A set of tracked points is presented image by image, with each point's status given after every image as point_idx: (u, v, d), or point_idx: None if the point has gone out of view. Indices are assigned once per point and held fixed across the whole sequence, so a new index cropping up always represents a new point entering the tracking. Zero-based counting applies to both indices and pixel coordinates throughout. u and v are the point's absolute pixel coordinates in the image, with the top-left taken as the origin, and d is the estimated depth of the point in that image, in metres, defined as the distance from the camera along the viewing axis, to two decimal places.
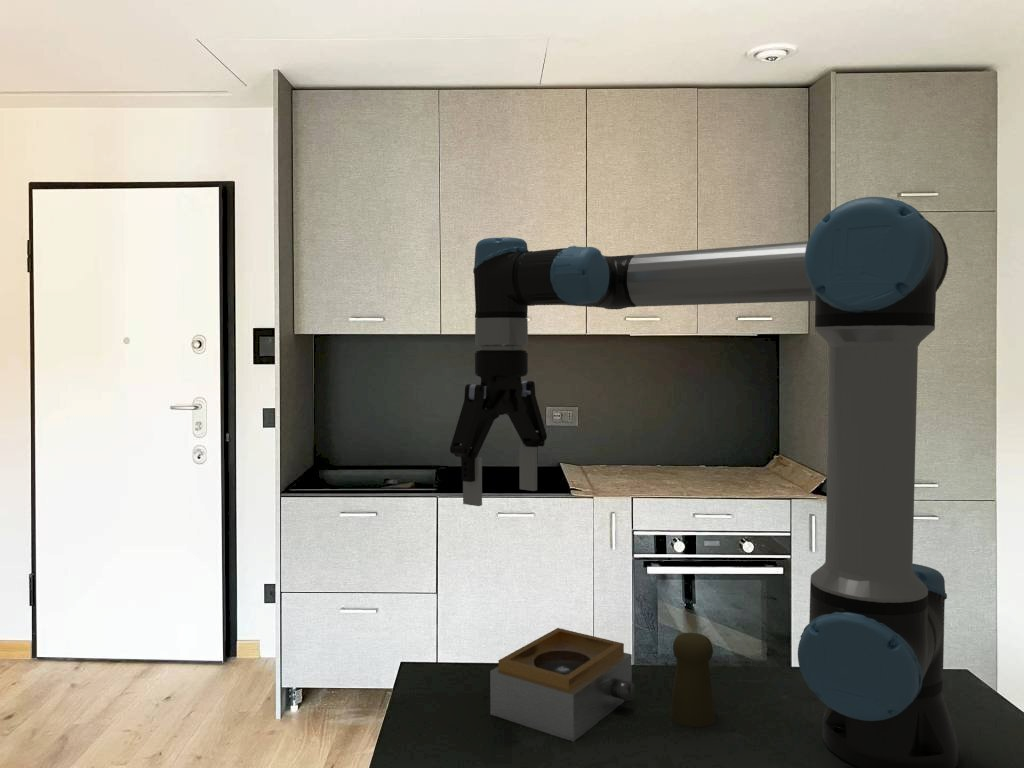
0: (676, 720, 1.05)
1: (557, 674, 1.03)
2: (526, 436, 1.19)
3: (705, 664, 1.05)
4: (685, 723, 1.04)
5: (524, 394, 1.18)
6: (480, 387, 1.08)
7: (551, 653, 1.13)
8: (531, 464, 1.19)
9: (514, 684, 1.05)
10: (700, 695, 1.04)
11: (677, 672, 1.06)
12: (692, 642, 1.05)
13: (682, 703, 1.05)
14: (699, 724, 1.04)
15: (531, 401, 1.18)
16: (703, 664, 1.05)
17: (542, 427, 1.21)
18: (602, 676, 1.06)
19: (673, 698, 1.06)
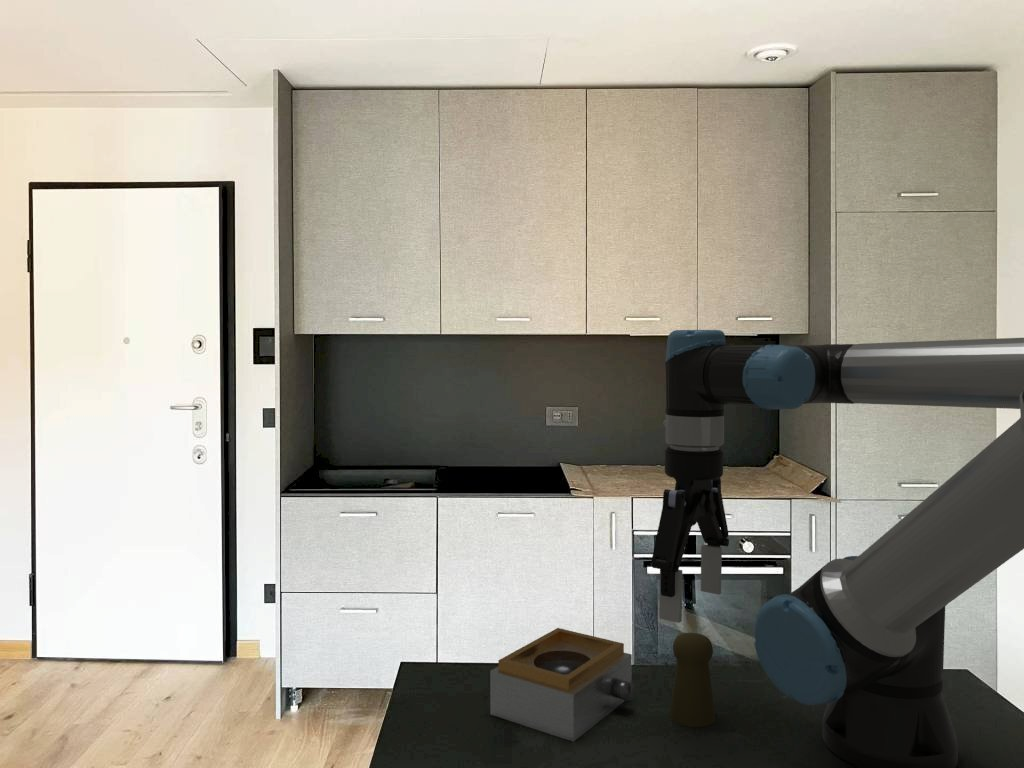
0: (676, 720, 1.05)
1: (557, 674, 1.03)
2: (710, 536, 1.11)
3: (705, 664, 1.05)
4: (685, 723, 1.04)
5: None
6: (682, 494, 1.00)
7: (551, 653, 1.13)
8: (715, 566, 1.11)
9: (514, 684, 1.05)
10: (700, 695, 1.04)
11: (677, 672, 1.06)
12: (692, 642, 1.05)
13: (682, 703, 1.05)
14: (699, 724, 1.04)
15: (717, 499, 1.10)
16: (703, 664, 1.05)
17: (725, 524, 1.13)
18: (602, 676, 1.06)
19: (673, 698, 1.06)
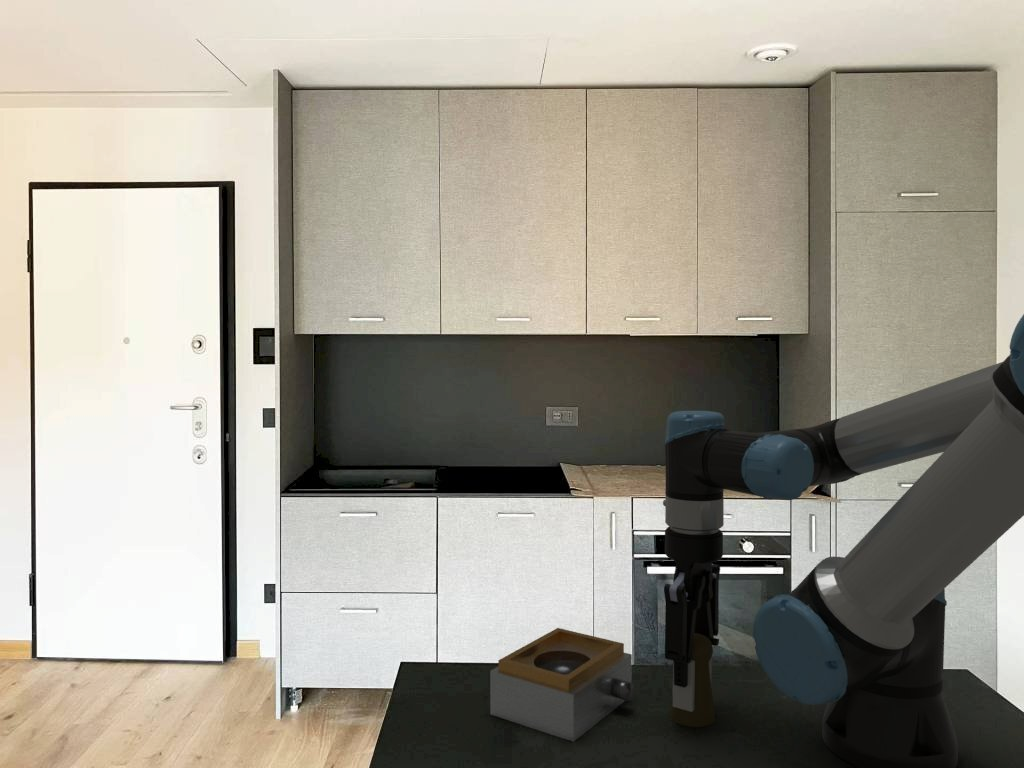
0: (676, 720, 1.05)
1: (557, 674, 1.03)
2: (701, 629, 1.09)
3: (704, 664, 1.05)
4: (685, 723, 1.04)
5: None
6: (682, 591, 1.00)
7: (551, 653, 1.13)
8: None
9: (514, 684, 1.05)
10: (700, 695, 1.04)
11: None
12: None
13: None
14: (699, 724, 1.04)
15: (714, 586, 1.10)
16: (703, 664, 1.05)
17: (717, 620, 1.10)
18: (602, 676, 1.06)
19: None
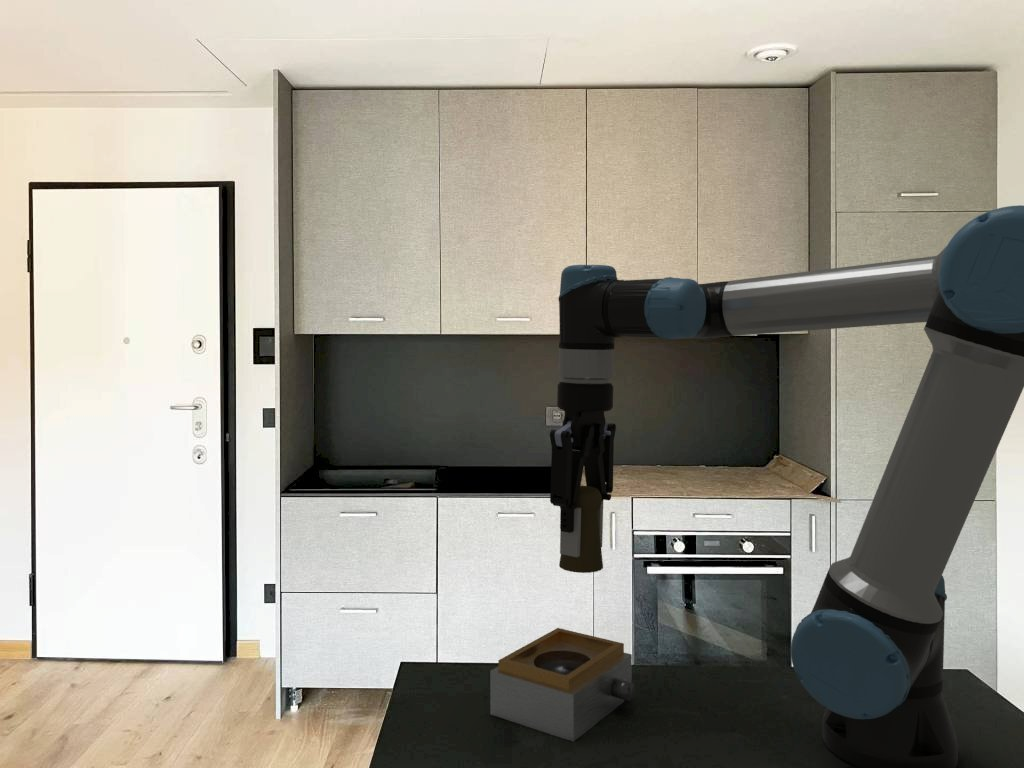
0: (563, 567, 1.08)
1: (557, 674, 1.03)
2: (594, 484, 1.11)
3: (592, 513, 1.07)
4: (571, 569, 1.07)
5: (603, 433, 1.12)
6: (566, 435, 1.02)
7: (551, 653, 1.13)
8: None
9: (514, 684, 1.05)
10: (586, 542, 1.07)
11: None
12: (580, 490, 1.07)
13: None
14: (584, 570, 1.07)
15: (608, 443, 1.12)
16: (591, 513, 1.07)
17: (611, 477, 1.13)
18: (602, 676, 1.06)
19: None
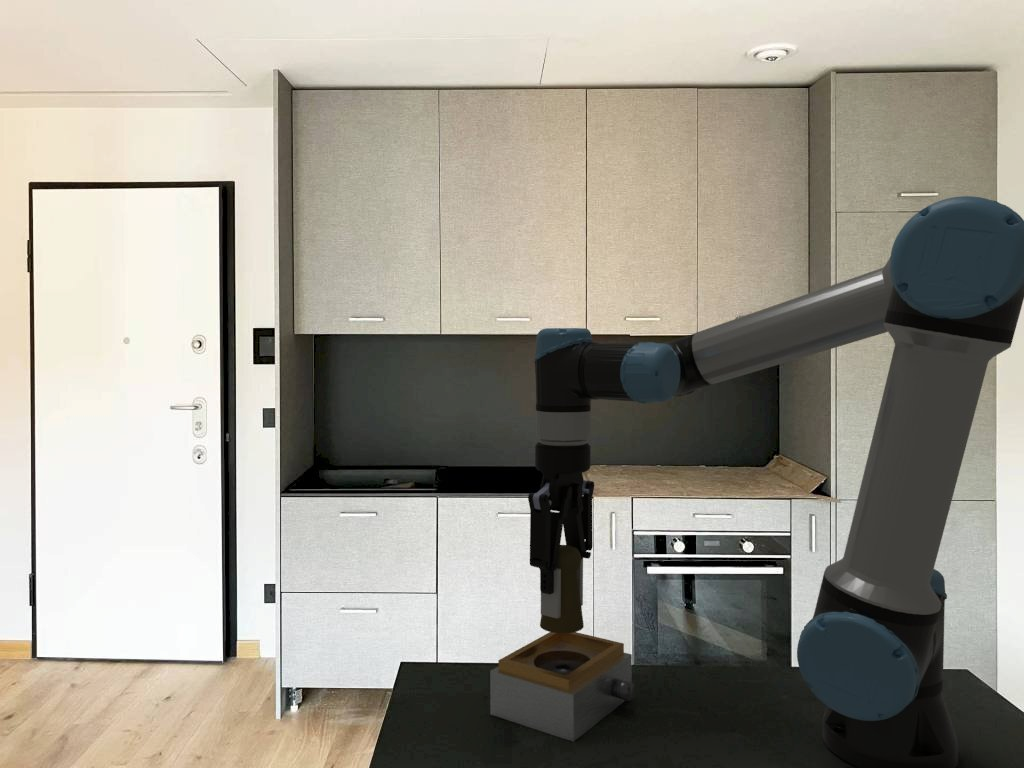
0: (544, 627, 1.08)
1: (557, 674, 1.03)
2: (573, 543, 1.12)
3: (572, 573, 1.08)
4: (552, 629, 1.07)
5: (582, 492, 1.13)
6: (544, 499, 1.03)
7: (551, 653, 1.13)
8: None
9: (514, 684, 1.05)
10: (566, 602, 1.07)
11: None
12: (559, 551, 1.08)
13: None
14: (565, 630, 1.07)
15: (587, 501, 1.13)
16: (570, 573, 1.08)
17: (590, 535, 1.13)
18: (602, 676, 1.06)
19: None
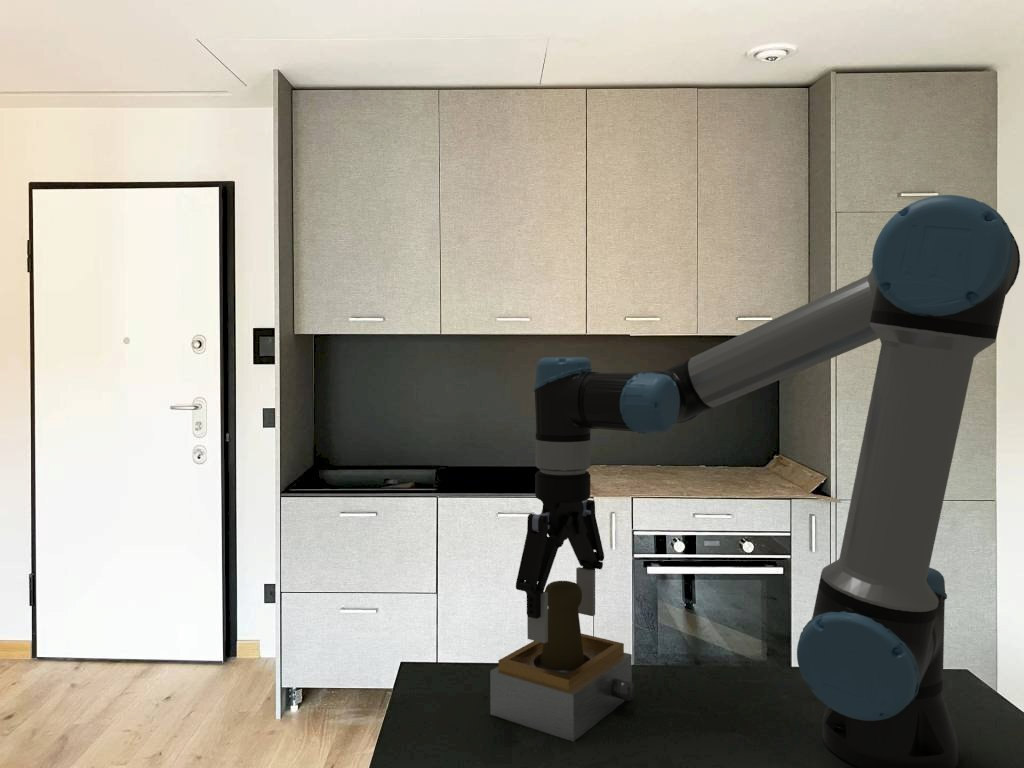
0: (545, 664, 1.08)
1: (557, 674, 1.03)
2: (584, 558, 1.14)
3: (573, 610, 1.08)
4: (552, 666, 1.08)
5: (584, 514, 1.13)
6: (544, 519, 1.03)
7: None
8: (589, 588, 1.14)
9: (514, 684, 1.05)
10: (567, 639, 1.08)
11: None
12: (560, 588, 1.08)
13: (550, 647, 1.08)
14: (565, 667, 1.07)
15: (591, 521, 1.14)
16: (571, 610, 1.08)
17: (600, 547, 1.16)
18: (602, 676, 1.06)
19: (543, 643, 1.10)
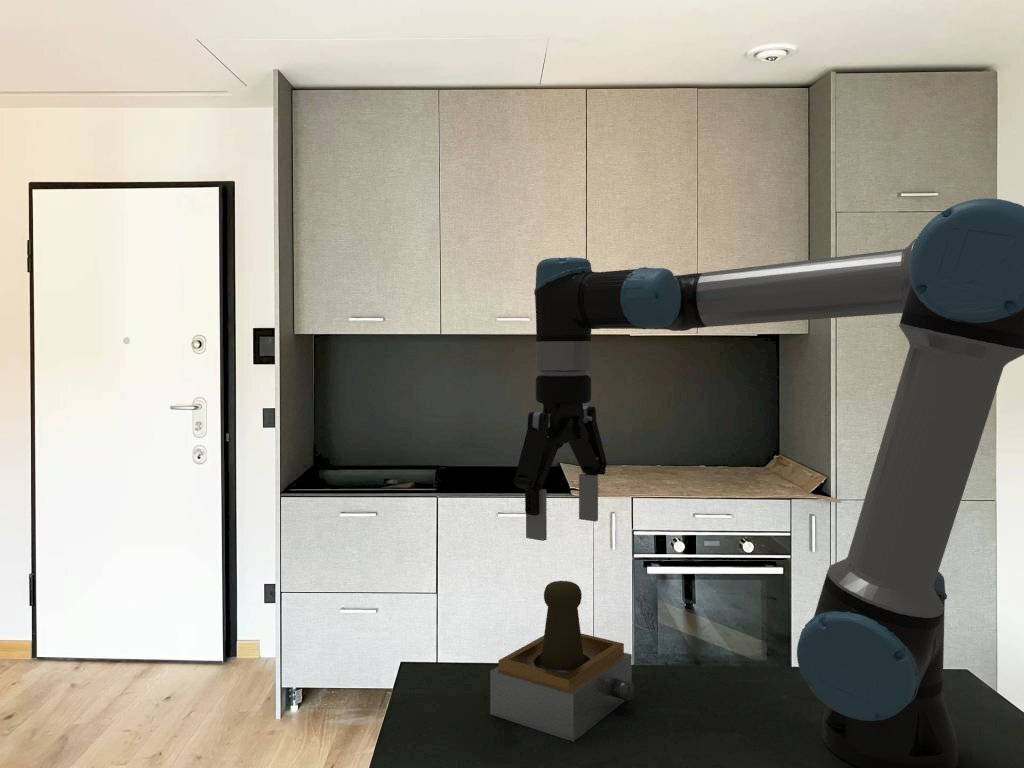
0: (545, 664, 1.08)
1: (557, 674, 1.03)
2: (586, 464, 1.14)
3: (572, 610, 1.08)
4: (552, 667, 1.08)
5: (585, 420, 1.13)
6: (545, 415, 1.02)
7: None
8: (592, 493, 1.14)
9: (514, 684, 1.05)
10: (567, 639, 1.08)
11: (547, 618, 1.09)
12: (560, 588, 1.08)
13: (550, 647, 1.08)
14: (565, 667, 1.07)
15: (592, 427, 1.13)
16: (571, 610, 1.08)
17: (602, 454, 1.15)
18: (602, 676, 1.06)
19: (543, 643, 1.10)
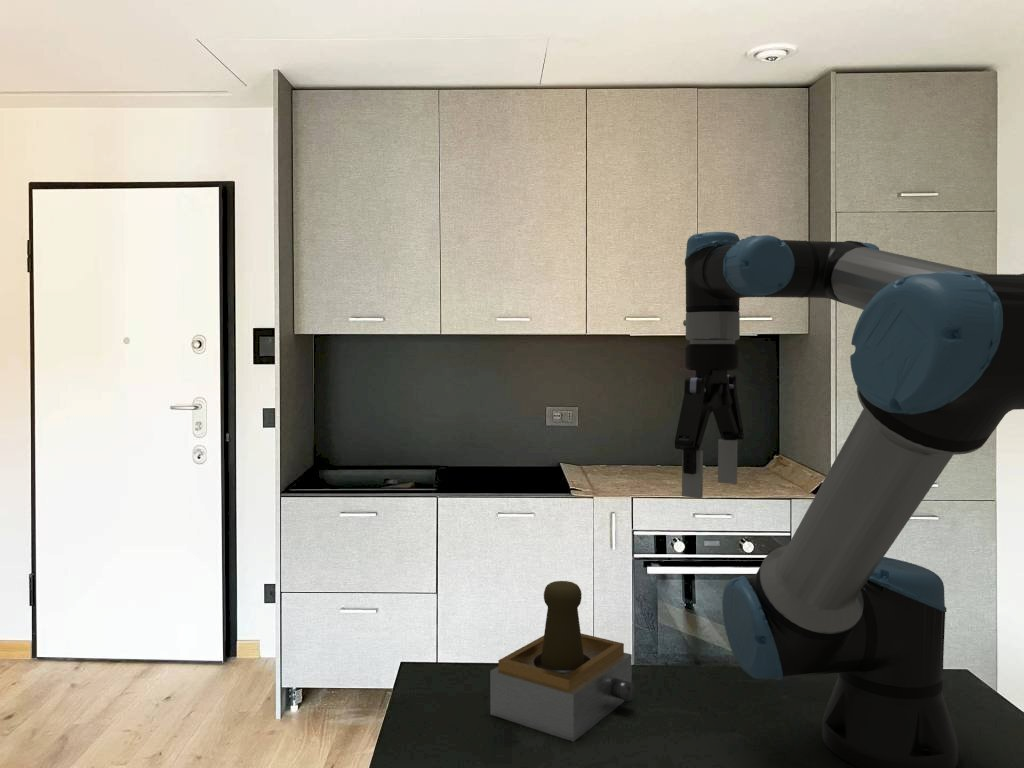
0: (545, 664, 1.08)
1: (557, 674, 1.03)
2: (727, 429, 1.20)
3: (572, 610, 1.08)
4: (552, 667, 1.08)
5: None
6: (702, 380, 1.09)
7: None
8: (732, 457, 1.20)
9: (514, 684, 1.05)
10: (567, 640, 1.08)
11: (547, 618, 1.09)
12: (560, 588, 1.08)
13: (550, 648, 1.08)
14: (566, 667, 1.07)
15: (733, 395, 1.19)
16: (571, 610, 1.08)
17: (740, 421, 1.22)
18: (602, 676, 1.06)
19: (543, 643, 1.10)
